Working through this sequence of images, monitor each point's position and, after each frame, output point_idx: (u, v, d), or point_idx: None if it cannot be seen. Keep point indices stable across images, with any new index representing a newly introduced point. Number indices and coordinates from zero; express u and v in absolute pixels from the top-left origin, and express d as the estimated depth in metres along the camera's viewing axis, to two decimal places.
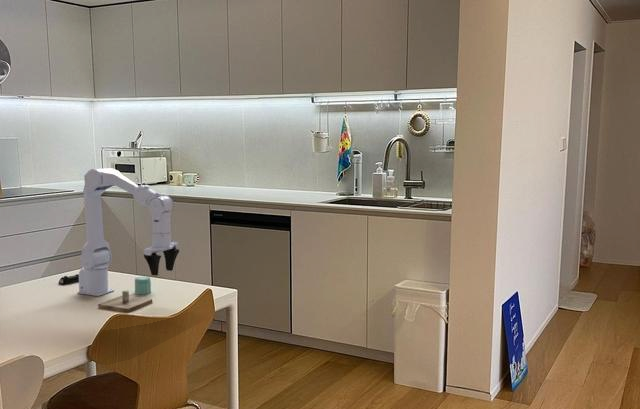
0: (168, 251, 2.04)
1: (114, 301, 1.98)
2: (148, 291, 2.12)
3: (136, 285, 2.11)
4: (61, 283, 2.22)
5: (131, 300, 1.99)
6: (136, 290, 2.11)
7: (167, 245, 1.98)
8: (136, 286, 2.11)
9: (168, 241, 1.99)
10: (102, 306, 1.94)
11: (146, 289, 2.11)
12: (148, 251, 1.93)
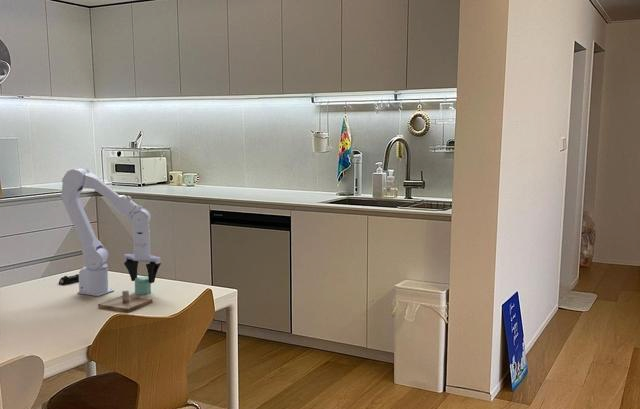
0: None
1: (114, 301, 1.98)
2: (148, 291, 2.12)
3: (136, 285, 2.11)
4: (61, 283, 2.22)
5: (131, 300, 1.99)
6: (136, 290, 2.11)
7: (135, 256, 2.10)
8: (136, 286, 2.11)
9: (136, 252, 2.09)
10: (102, 306, 1.94)
11: (146, 289, 2.11)
12: None
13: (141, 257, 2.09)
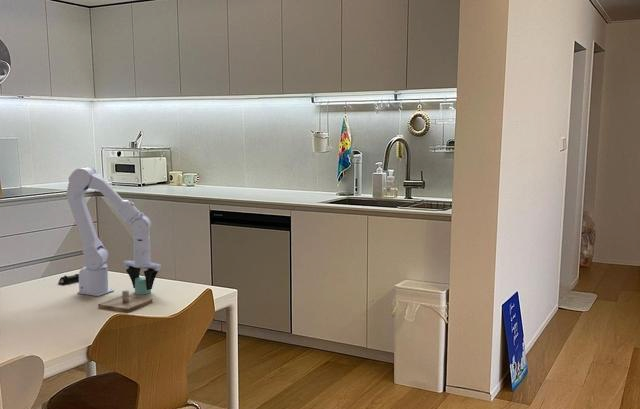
0: None
1: (114, 301, 1.98)
2: (148, 291, 2.12)
3: (136, 285, 2.11)
4: (61, 283, 2.22)
5: (131, 300, 1.99)
6: (136, 290, 2.11)
7: (135, 263, 2.10)
8: (136, 286, 2.11)
9: (136, 259, 2.09)
10: (102, 306, 1.94)
11: (146, 289, 2.11)
12: None
13: (141, 264, 2.09)
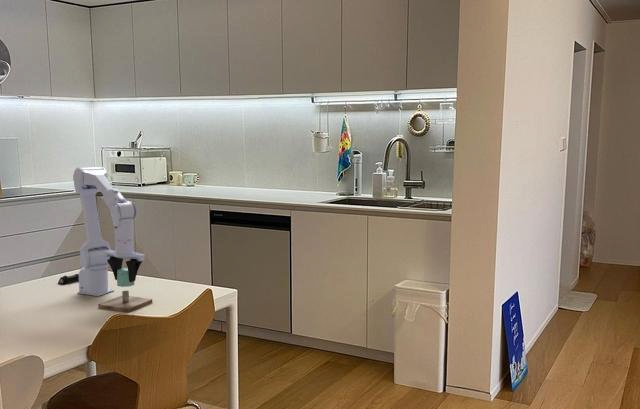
0: None
1: (114, 301, 1.98)
2: (131, 283, 1.96)
3: (118, 277, 1.95)
4: (61, 283, 2.22)
5: (131, 300, 1.99)
6: (118, 282, 1.95)
7: (117, 252, 1.93)
8: (118, 278, 1.95)
9: (118, 249, 1.93)
10: (102, 306, 1.94)
11: None
12: None
13: (123, 254, 1.93)
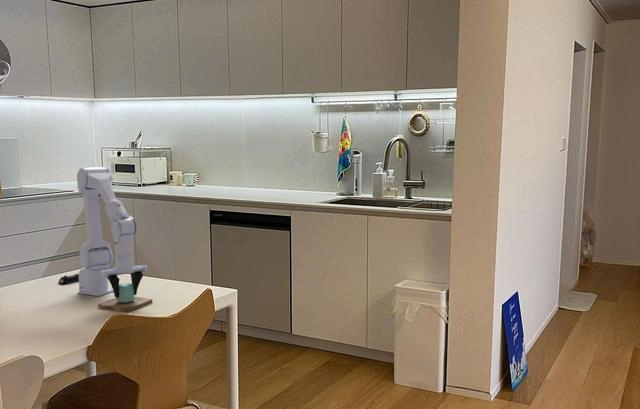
0: (133, 274, 1.99)
1: (114, 301, 1.98)
2: None
3: (126, 292, 1.95)
4: (61, 283, 2.22)
5: None
6: (126, 298, 1.95)
7: (126, 268, 1.94)
8: (126, 294, 1.95)
9: (127, 264, 1.94)
10: (102, 306, 1.94)
11: (133, 294, 1.98)
12: (103, 273, 1.92)
13: (132, 268, 1.95)
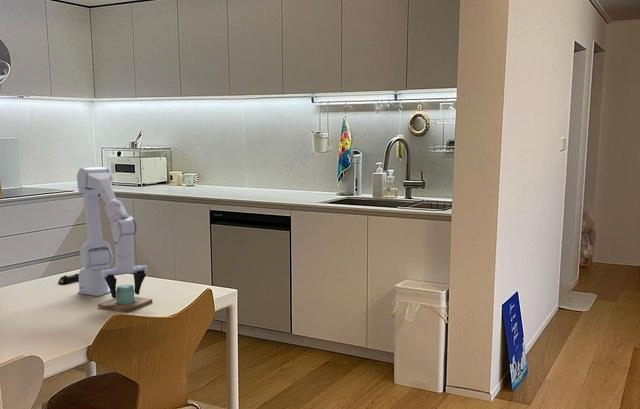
0: (135, 274, 1.99)
1: (114, 301, 1.98)
2: None
3: (126, 294, 1.95)
4: (61, 283, 2.23)
5: None
6: (126, 300, 1.95)
7: (126, 268, 1.94)
8: (126, 295, 1.95)
9: (127, 264, 1.94)
10: (102, 306, 1.94)
11: (133, 296, 1.98)
12: (103, 273, 1.92)
13: (132, 268, 1.95)
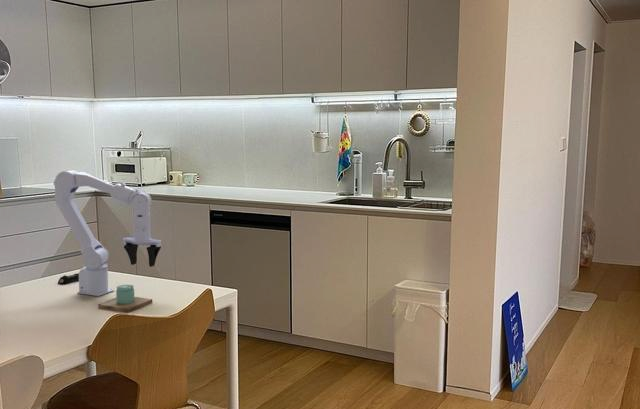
0: None
1: (114, 301, 1.98)
2: None
3: (126, 294, 1.95)
4: (61, 283, 2.23)
5: None
6: (126, 300, 1.95)
7: (136, 239, 2.08)
8: (126, 295, 1.95)
9: (137, 235, 2.08)
10: (102, 306, 1.94)
11: (133, 296, 1.98)
12: None
13: (141, 240, 2.08)
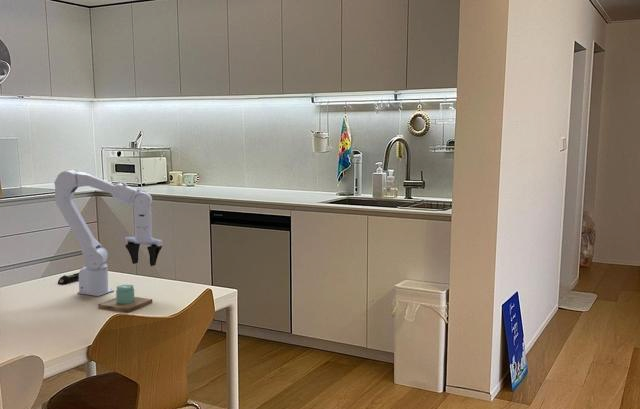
0: None
1: (114, 301, 1.98)
2: None
3: (126, 294, 1.95)
4: (61, 283, 2.23)
5: None
6: (126, 300, 1.95)
7: (137, 238, 2.10)
8: (126, 295, 1.95)
9: (138, 235, 2.09)
10: (102, 306, 1.94)
11: (133, 296, 1.98)
12: None
13: (142, 239, 2.09)
